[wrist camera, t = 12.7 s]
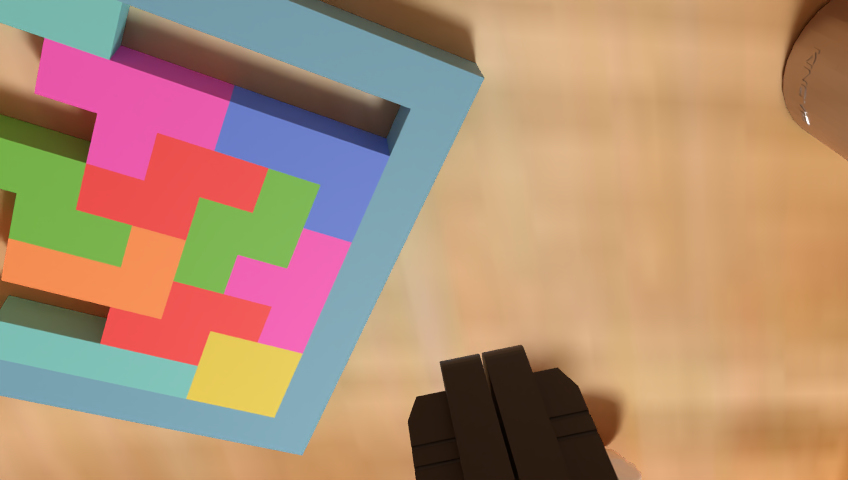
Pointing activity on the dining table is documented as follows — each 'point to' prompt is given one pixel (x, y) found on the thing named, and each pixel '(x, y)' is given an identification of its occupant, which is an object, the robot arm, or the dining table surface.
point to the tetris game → (212, 215)
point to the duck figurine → (623, 467)
